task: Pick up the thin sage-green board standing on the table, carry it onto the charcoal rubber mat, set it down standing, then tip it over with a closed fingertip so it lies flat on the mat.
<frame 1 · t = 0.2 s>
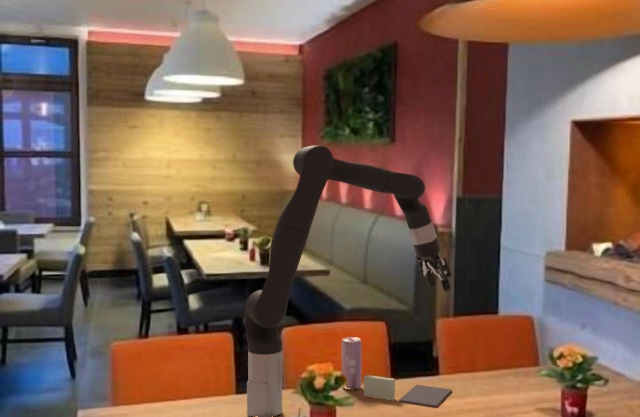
hand: (439, 288, 203), 31 cm above the table, tool tilted 20°, fingers open, 8 cm apart
beverage can: (351, 388, 204), on the table
mat: (426, 396, 196), on the table
board: (379, 397, 195), on the table
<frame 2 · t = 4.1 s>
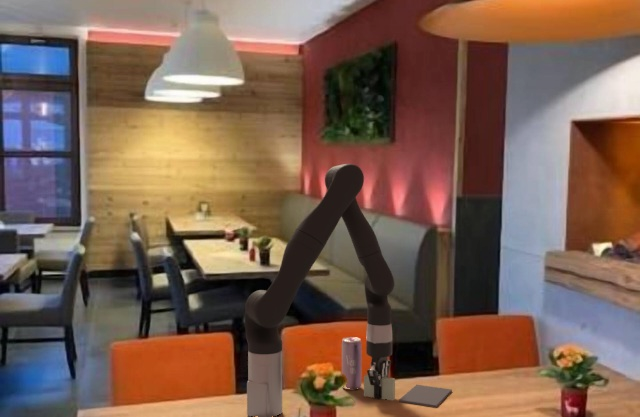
hand: (379, 397, 195), 0 cm above the table, tool pointing down, fingers closed on board
board: (379, 397, 195), on the table, touching gripper
everything else where it was.
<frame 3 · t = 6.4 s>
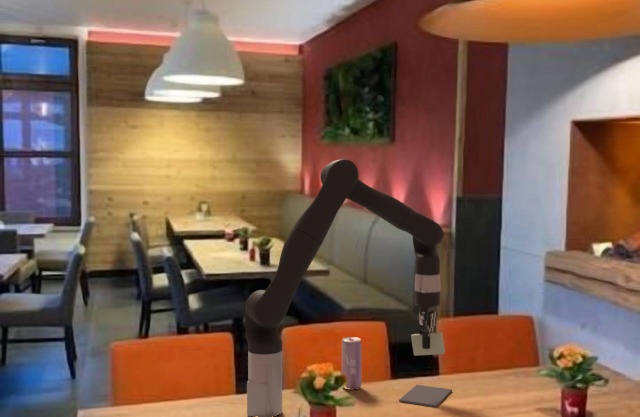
hand: (427, 347, 196), 14 cm above the table, tool pointing down, fingers closed on board, 1 cm apart
board: (429, 354, 196), point 12 cm above the table, tilted 9°, touching gripper
everything else where it was.
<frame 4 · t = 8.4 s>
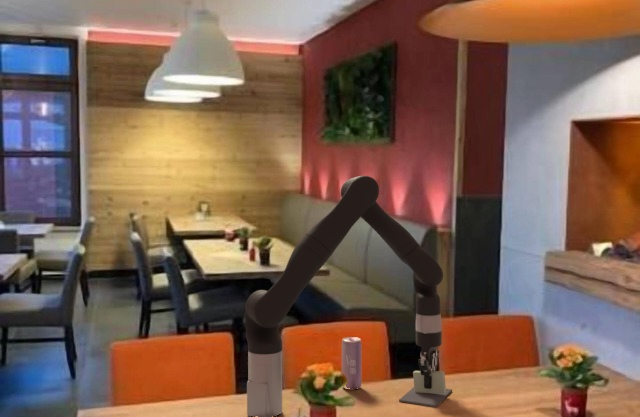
hand: (429, 387, 196), 3 cm above the table, tool pointing down, fingers closed on board, 2 cm apart
board: (430, 392, 196), point 1 cm above the table, tilted 6°, touching gripper
everything else where it was.
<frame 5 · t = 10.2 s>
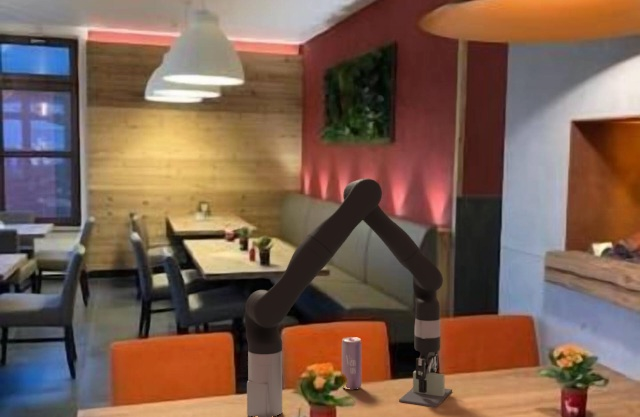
hand: (427, 388, 197), 2 cm above the table, tool pointing down, fingers open, 8 cm apart
board: (428, 393, 197), point 1 cm above the table, touching mat
everything else where it was.
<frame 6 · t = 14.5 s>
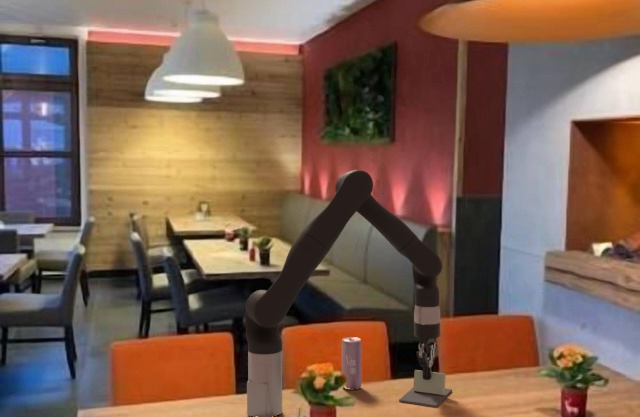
hand: (427, 379, 195), 5 cm above the table, tool pointing down, fingers closed
board: (428, 392, 197), point 1 cm above the table, tilted 13°, touching gripper, mat
everything else where it was.
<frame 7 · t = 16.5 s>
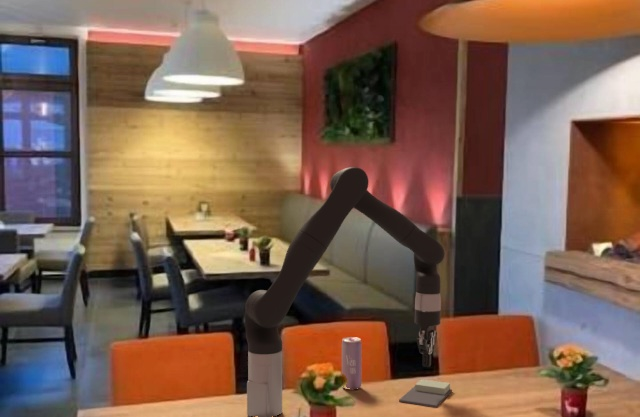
hand: (426, 366, 197), 9 cm above the table, tool pointing down, fingers closed
board: (429, 389, 197), point 1 cm above the table, tilted 90°, touching mat
everything else where it was.
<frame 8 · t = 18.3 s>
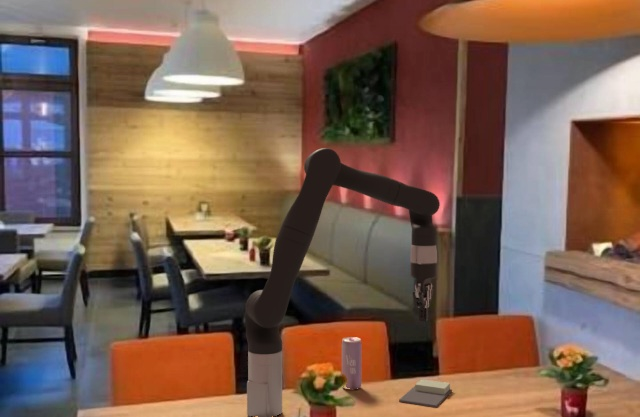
hand: (423, 320, 192), 23 cm above the table, tool pointing down, fingers closed
nothing on the table moved.
at the end: board tilted 90°; board inside the target area (1.8 cm from its centre), point 1.5 cm above the table; the gripper is holding nothing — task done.
